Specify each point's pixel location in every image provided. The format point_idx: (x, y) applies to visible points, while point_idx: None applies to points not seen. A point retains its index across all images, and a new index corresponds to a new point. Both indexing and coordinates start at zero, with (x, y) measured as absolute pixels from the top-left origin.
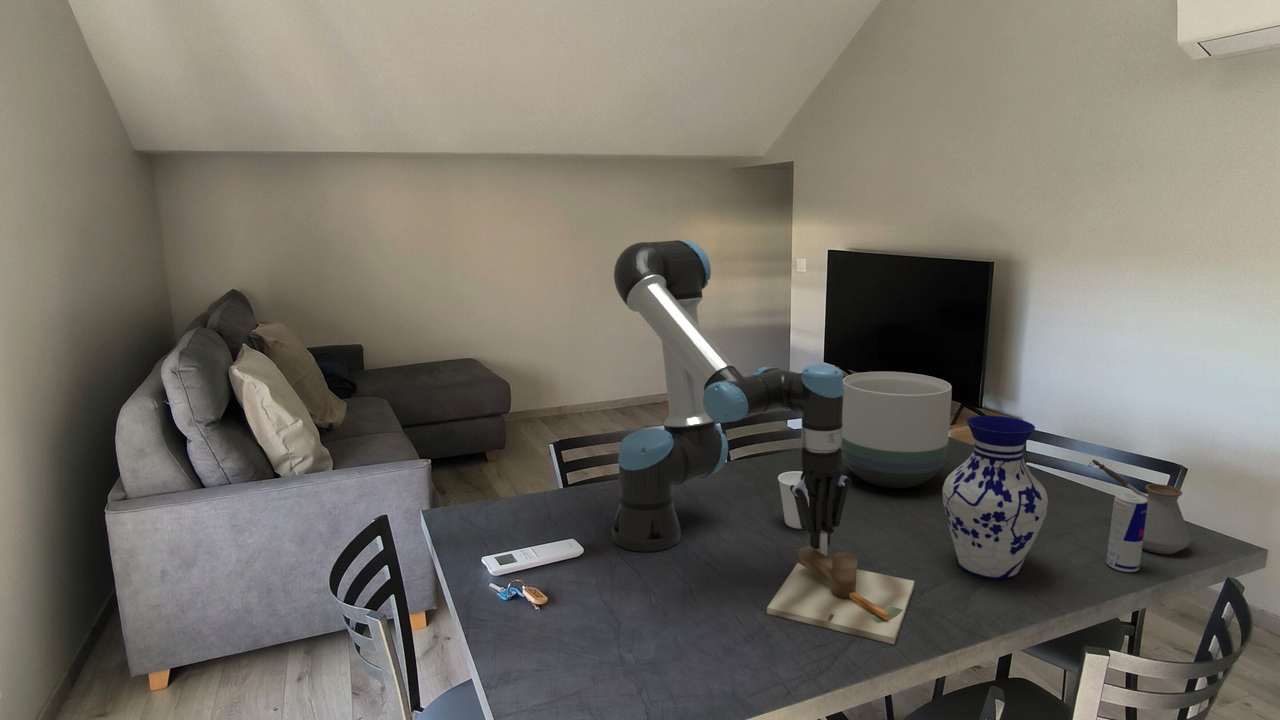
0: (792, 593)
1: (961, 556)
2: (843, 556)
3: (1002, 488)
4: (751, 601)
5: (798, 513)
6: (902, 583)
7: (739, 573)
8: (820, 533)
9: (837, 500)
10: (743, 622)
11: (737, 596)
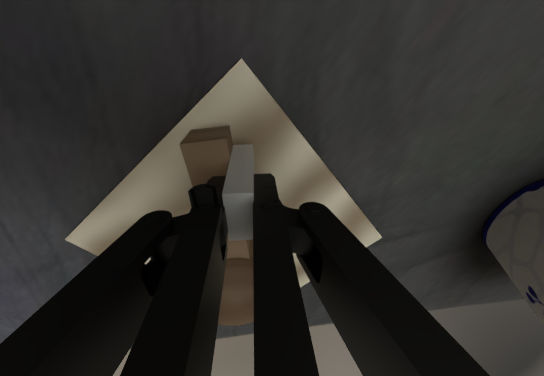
0: (137, 213)
1: (513, 231)
2: (235, 304)
3: None
4: (44, 186)
5: (62, 293)
6: (358, 238)
7: (16, 35)
8: (230, 232)
9: (371, 369)
10: (18, 241)
11: (5, 157)
